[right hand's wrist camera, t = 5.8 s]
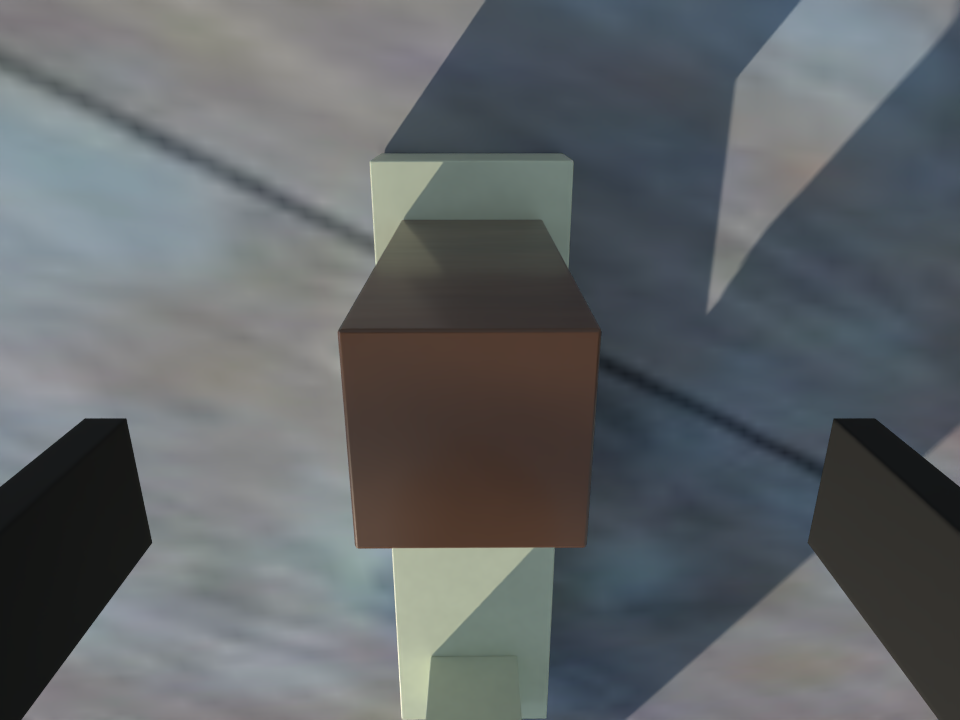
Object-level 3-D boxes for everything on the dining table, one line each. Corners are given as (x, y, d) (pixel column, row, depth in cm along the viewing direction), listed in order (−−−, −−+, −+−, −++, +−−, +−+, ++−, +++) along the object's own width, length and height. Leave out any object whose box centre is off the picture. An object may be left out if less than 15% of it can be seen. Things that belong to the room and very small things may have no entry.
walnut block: (401, 219, 24) (336, 329, 13) (542, 219, 24) (602, 328, 13) (406, 351, 26) (354, 549, 15) (538, 351, 26) (586, 548, 15)
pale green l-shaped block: (380, 153, 26) (319, 192, 16) (563, 153, 26) (621, 191, 16) (407, 670, 35) (380, 904, 25) (540, 669, 35) (567, 903, 25)
